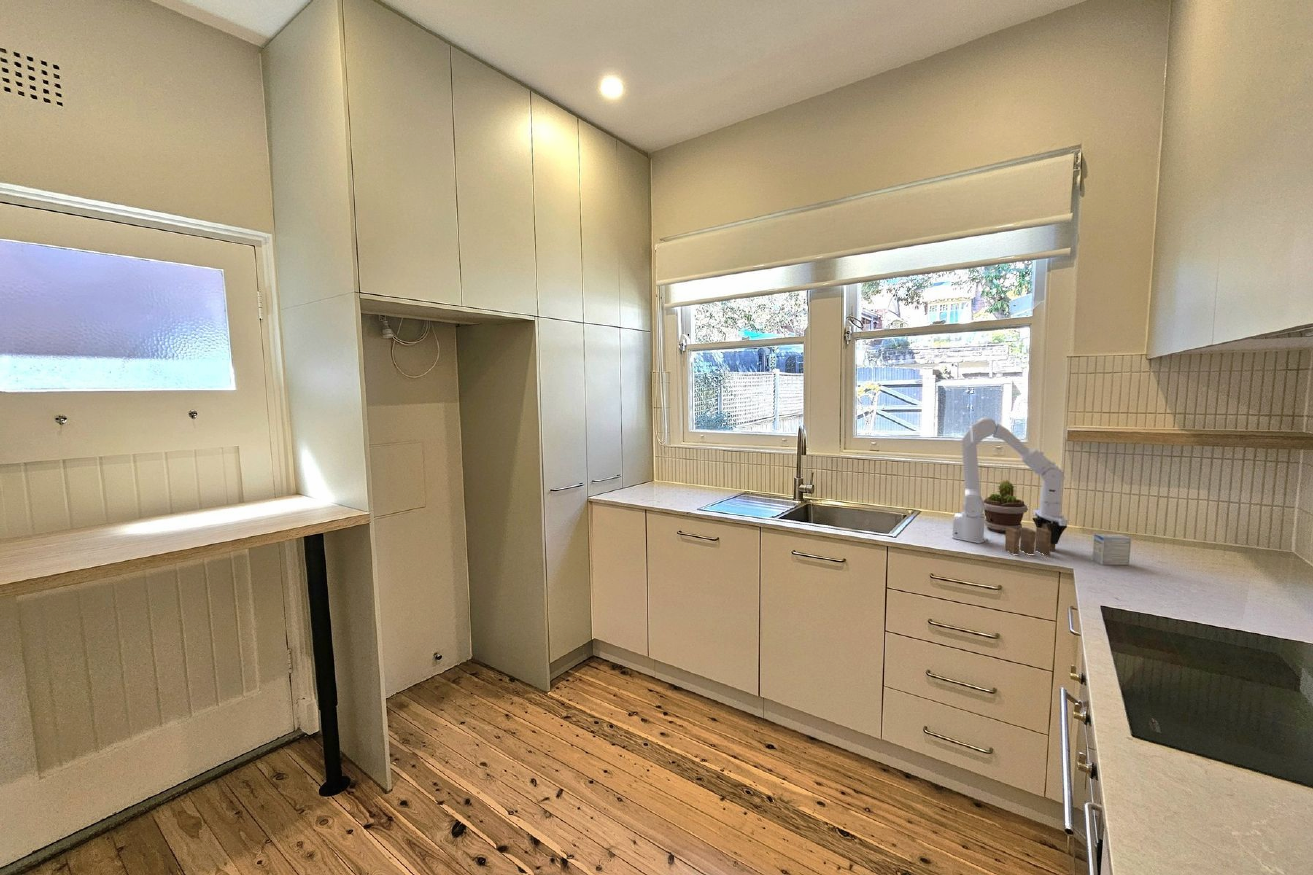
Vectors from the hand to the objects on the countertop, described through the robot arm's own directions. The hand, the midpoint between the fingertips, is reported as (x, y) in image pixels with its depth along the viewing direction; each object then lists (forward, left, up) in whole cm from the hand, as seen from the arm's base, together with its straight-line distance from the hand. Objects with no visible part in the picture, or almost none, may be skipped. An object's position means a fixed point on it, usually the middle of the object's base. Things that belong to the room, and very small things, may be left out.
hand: (1048, 541), depth 180 cm
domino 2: (-3, -10, -3) cm, 11 cm away
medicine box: (+17, -3, -3) cm, 17 cm away
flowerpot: (-18, +15, -3) cm, 24 cm away
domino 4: (0, 0, -2) cm, 2 cm away
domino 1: (-7, -14, -3) cm, 15 cm away
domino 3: (0, -7, -3) cm, 7 cm away
